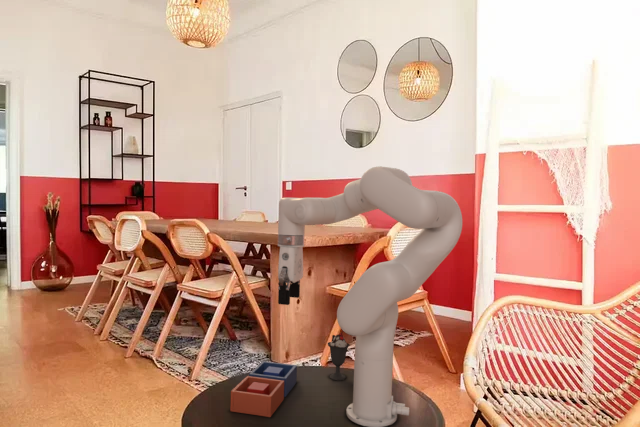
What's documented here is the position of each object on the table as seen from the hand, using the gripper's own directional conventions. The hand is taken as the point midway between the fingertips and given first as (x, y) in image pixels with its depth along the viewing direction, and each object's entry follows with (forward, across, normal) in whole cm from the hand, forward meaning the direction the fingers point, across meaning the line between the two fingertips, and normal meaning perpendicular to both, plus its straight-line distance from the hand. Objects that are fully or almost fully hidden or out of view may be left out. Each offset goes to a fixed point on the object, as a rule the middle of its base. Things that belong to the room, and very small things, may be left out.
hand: (289, 300), depth 134 cm
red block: (+24, -15, +3) cm, 28 cm away
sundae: (+24, +10, -13) cm, 29 cm away
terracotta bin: (+24, -15, +3) cm, 29 cm away
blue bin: (+24, -3, +3) cm, 25 cm away
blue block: (+24, -3, +3) cm, 24 cm away
